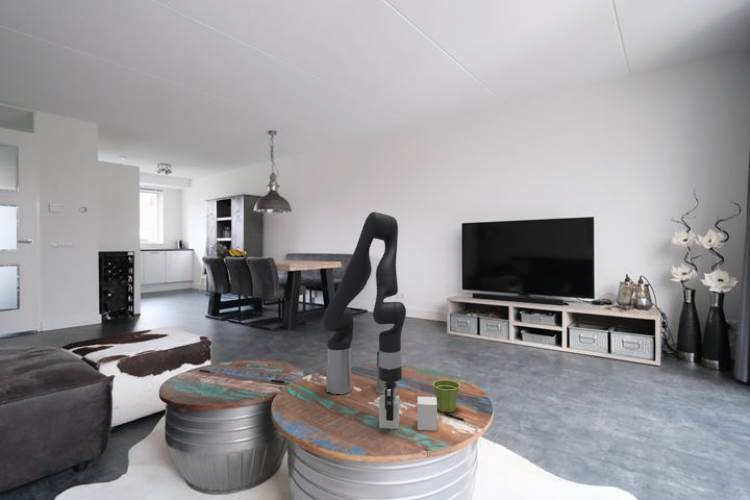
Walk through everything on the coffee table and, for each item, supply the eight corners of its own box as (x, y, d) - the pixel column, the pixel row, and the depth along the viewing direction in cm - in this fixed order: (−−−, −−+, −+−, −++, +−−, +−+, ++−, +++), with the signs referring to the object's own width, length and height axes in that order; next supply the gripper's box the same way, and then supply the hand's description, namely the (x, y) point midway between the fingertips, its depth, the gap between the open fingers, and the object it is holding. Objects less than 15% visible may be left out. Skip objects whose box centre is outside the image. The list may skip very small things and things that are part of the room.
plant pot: (444, 417, 125) (444, 391, 125) (427, 406, 133) (427, 382, 133) (465, 411, 129) (465, 386, 129) (448, 401, 138) (448, 378, 138)
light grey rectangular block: (417, 429, 117) (417, 404, 117) (417, 420, 123) (417, 396, 122) (437, 430, 116) (437, 404, 116) (436, 421, 122) (436, 397, 122)
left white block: (379, 427, 118) (379, 402, 118) (381, 419, 124) (381, 395, 124) (398, 428, 117) (398, 403, 117) (399, 420, 123) (399, 395, 123)
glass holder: (373, 393, 146) (373, 355, 146) (381, 380, 160) (381, 345, 160) (395, 395, 144) (395, 356, 144) (401, 382, 158) (401, 346, 158)
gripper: (380, 357, 128) (381, 404, 128) (376, 370, 114) (376, 424, 114) (402, 357, 127) (403, 405, 127) (400, 371, 113) (401, 425, 113)
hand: (390, 414), depth 121 cm, fingers open, 8 cm apart
